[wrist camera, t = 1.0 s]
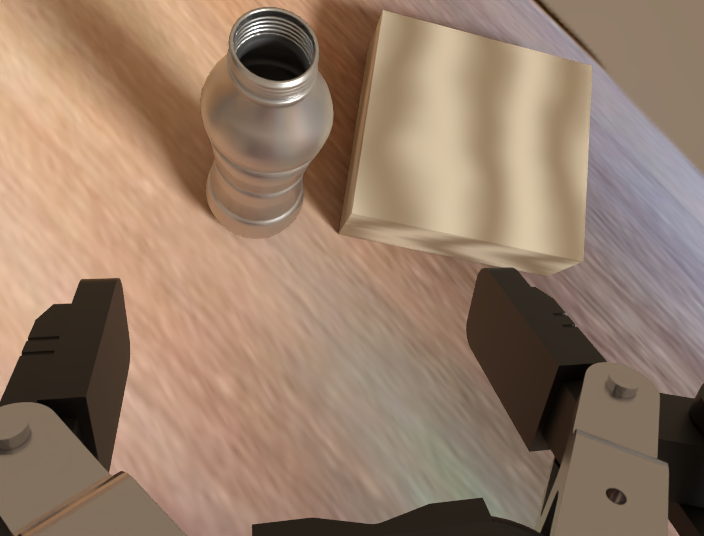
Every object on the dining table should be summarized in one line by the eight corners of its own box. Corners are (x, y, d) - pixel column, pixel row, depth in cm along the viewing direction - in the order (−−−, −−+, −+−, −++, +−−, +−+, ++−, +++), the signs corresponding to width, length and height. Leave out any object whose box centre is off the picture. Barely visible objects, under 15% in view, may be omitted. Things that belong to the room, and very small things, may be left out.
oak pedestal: (338, 234, 44) (351, 213, 39) (367, 49, 48) (383, 10, 43) (546, 276, 47) (583, 261, 42) (558, 98, 51) (592, 66, 46)
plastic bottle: (219, 152, 43) (211, -45, 24) (308, 175, 44) (367, 3, 25) (196, 233, 42) (169, 90, 23) (289, 256, 43) (338, 136, 24)
